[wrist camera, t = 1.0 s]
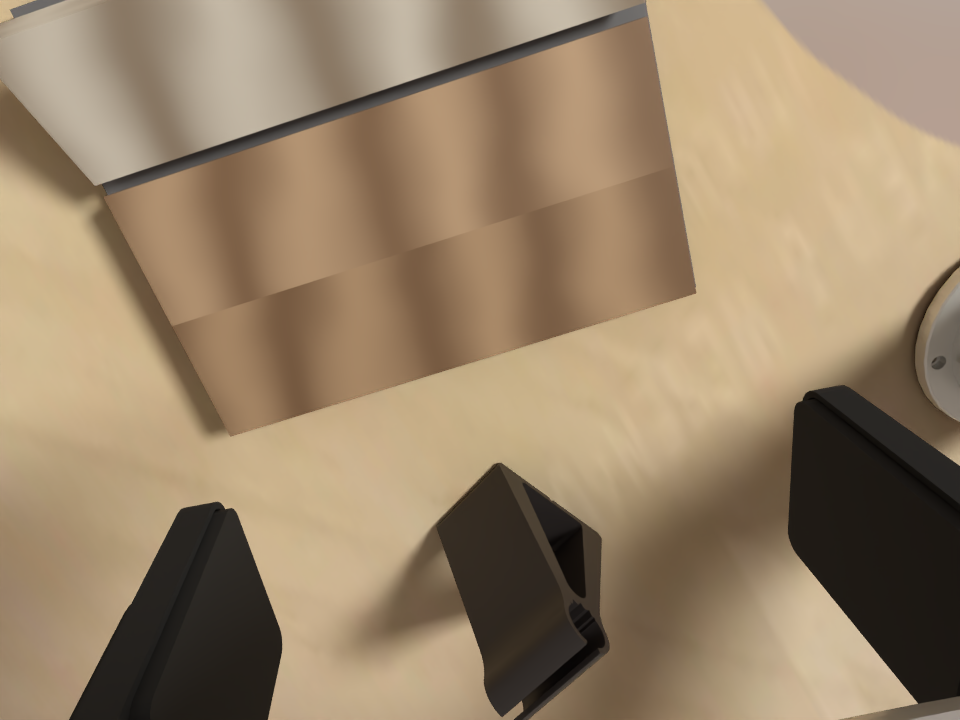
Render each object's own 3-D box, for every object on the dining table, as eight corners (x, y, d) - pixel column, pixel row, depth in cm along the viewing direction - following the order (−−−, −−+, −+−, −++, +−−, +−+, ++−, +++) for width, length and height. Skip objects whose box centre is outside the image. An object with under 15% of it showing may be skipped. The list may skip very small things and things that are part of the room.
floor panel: (603, -193, 28) (619, -216, 26) (689, 282, 37) (706, 295, 35) (22, 11, 30) (-12, 6, 27) (236, 421, 38) (224, 443, 36)
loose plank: (628, -198, 24) (643, -186, 23) (634, -13, 30) (646, 2, 29) (-18, 29, 26) (-27, 48, 25) (99, 166, 31) (94, 185, 30)
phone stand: (436, 523, 42) (438, 681, 31) (499, 460, 41) (524, 602, 30) (537, 591, 45) (572, 758, 34) (600, 534, 43) (658, 690, 32)
